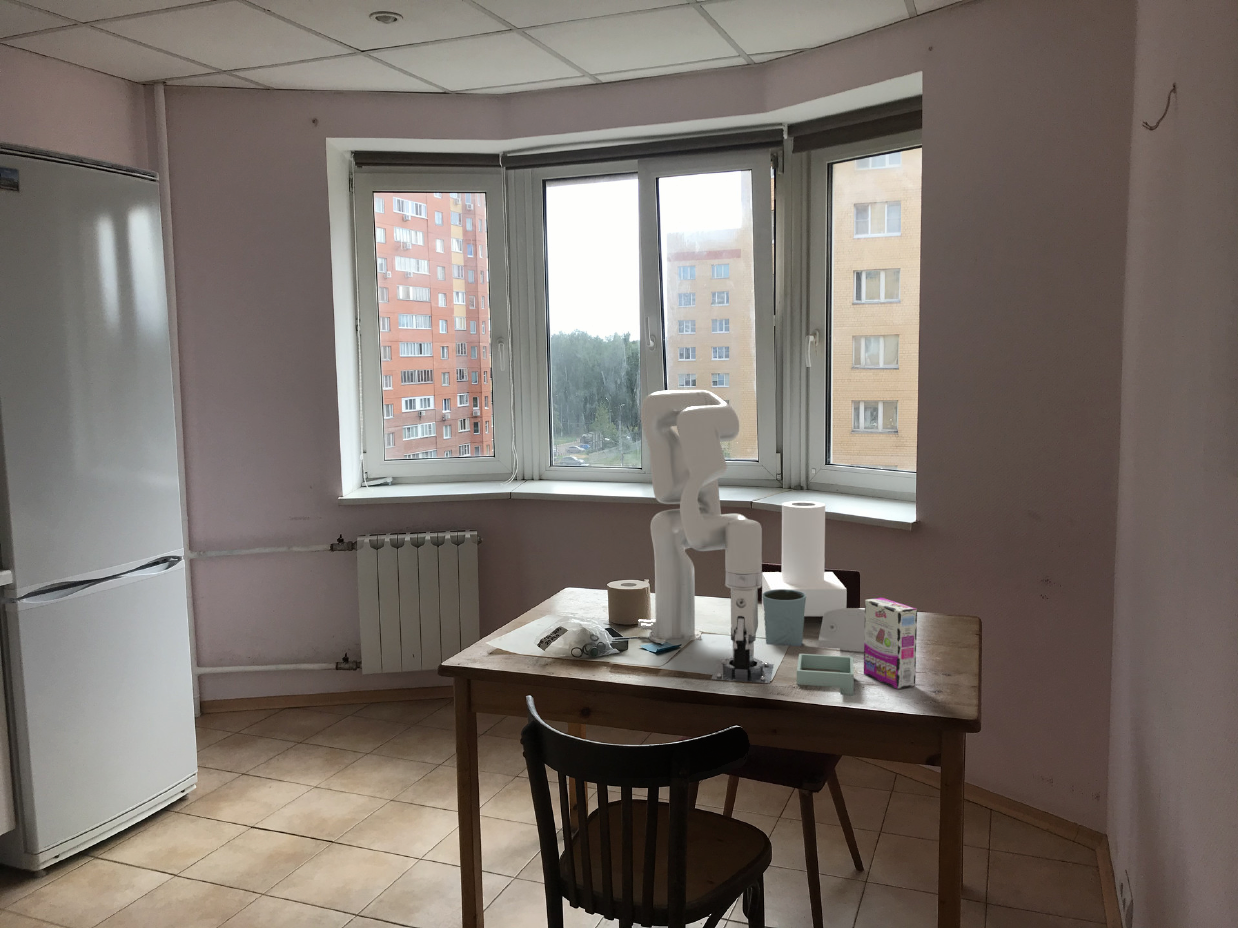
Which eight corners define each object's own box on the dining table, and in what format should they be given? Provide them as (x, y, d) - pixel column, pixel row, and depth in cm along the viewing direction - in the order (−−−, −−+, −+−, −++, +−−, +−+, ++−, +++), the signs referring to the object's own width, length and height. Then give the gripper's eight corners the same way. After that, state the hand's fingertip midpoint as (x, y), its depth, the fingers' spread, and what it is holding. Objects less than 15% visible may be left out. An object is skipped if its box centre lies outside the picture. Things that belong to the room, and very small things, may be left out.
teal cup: (803, 637, 224) (803, 589, 222) (807, 650, 214) (808, 599, 212) (761, 636, 225) (761, 588, 223) (763, 649, 215) (763, 599, 213)
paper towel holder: (770, 628, 232) (771, 510, 229) (762, 608, 251) (762, 499, 247) (846, 628, 231) (847, 509, 228) (831, 608, 250) (833, 498, 247)
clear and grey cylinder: (729, 674, 194) (729, 630, 193) (732, 666, 199) (732, 623, 198) (754, 676, 192) (754, 632, 191) (756, 668, 198) (756, 625, 196)
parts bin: (796, 691, 188) (796, 670, 187) (799, 672, 199) (799, 653, 198) (853, 694, 185) (853, 674, 185) (852, 676, 196) (853, 656, 195)
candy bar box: (917, 686, 190) (918, 608, 188) (897, 690, 188) (899, 611, 186) (881, 670, 200) (882, 596, 198) (862, 673, 198) (863, 598, 196)
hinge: (816, 647, 216) (819, 604, 218) (819, 648, 220) (821, 606, 222) (890, 654, 210) (892, 610, 212) (892, 655, 214) (893, 612, 217)
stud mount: (711, 685, 191) (711, 670, 191) (718, 667, 203) (718, 652, 203) (769, 689, 189) (769, 674, 188) (773, 670, 200) (773, 655, 200)
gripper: (758, 589, 184) (757, 677, 186) (764, 570, 201) (764, 651, 203) (720, 587, 186) (720, 675, 188) (730, 569, 202) (730, 649, 205)
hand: (743, 662), depth 195 cm, fingers closed on stud mount, 5 cm apart
